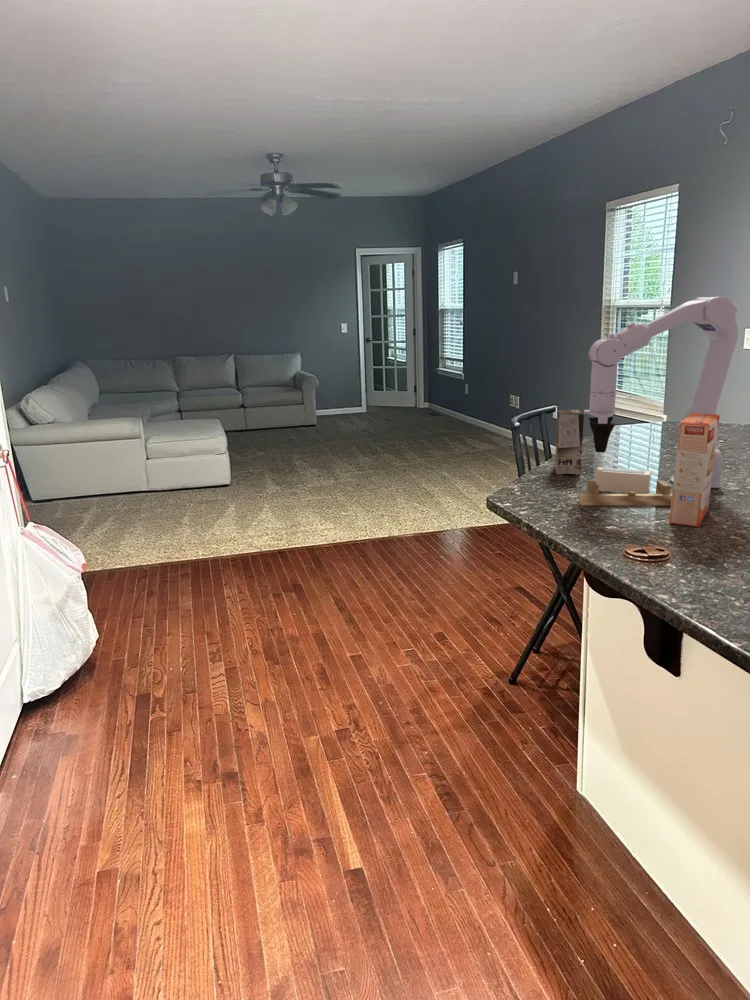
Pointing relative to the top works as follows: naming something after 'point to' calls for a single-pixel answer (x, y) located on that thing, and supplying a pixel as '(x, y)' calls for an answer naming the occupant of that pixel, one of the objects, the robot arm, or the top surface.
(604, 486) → the cream block
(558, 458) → the coffee box
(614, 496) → the ledge
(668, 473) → the top surface
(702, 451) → the cracker box
